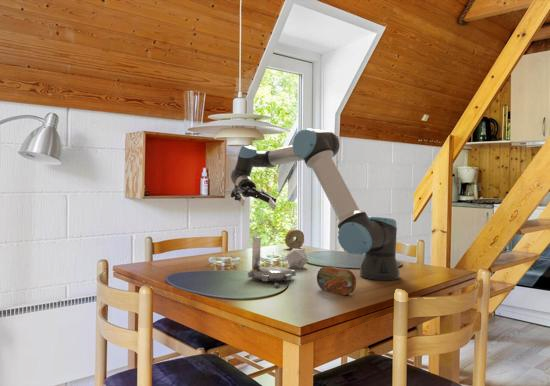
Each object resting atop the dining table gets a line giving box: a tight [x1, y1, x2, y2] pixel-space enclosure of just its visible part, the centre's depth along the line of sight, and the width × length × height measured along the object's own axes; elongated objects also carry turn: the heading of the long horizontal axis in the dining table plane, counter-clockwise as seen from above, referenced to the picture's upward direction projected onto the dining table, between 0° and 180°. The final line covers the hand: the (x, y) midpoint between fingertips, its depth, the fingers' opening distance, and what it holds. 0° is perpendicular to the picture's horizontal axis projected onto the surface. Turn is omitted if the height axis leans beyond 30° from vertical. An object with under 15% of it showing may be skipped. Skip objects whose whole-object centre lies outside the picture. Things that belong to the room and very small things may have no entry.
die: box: [285, 248, 309, 270], centre depth 203 cm, size 8×9×10 cm
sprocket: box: [247, 236, 297, 282], centre depth 179 cm, size 18×16×14 cm
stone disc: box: [284, 229, 305, 250], centre depth 252 cm, size 10×4×10 cm, turn 114°
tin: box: [316, 266, 357, 296], centre depth 162 cm, size 15×3×8 cm, turn 44°
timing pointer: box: [273, 281, 280, 288], centre depth 169 cm, size 4×1×1 cm, turn 9°
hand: (259, 205), depth 196 cm, fingers open, 13 cm apart
